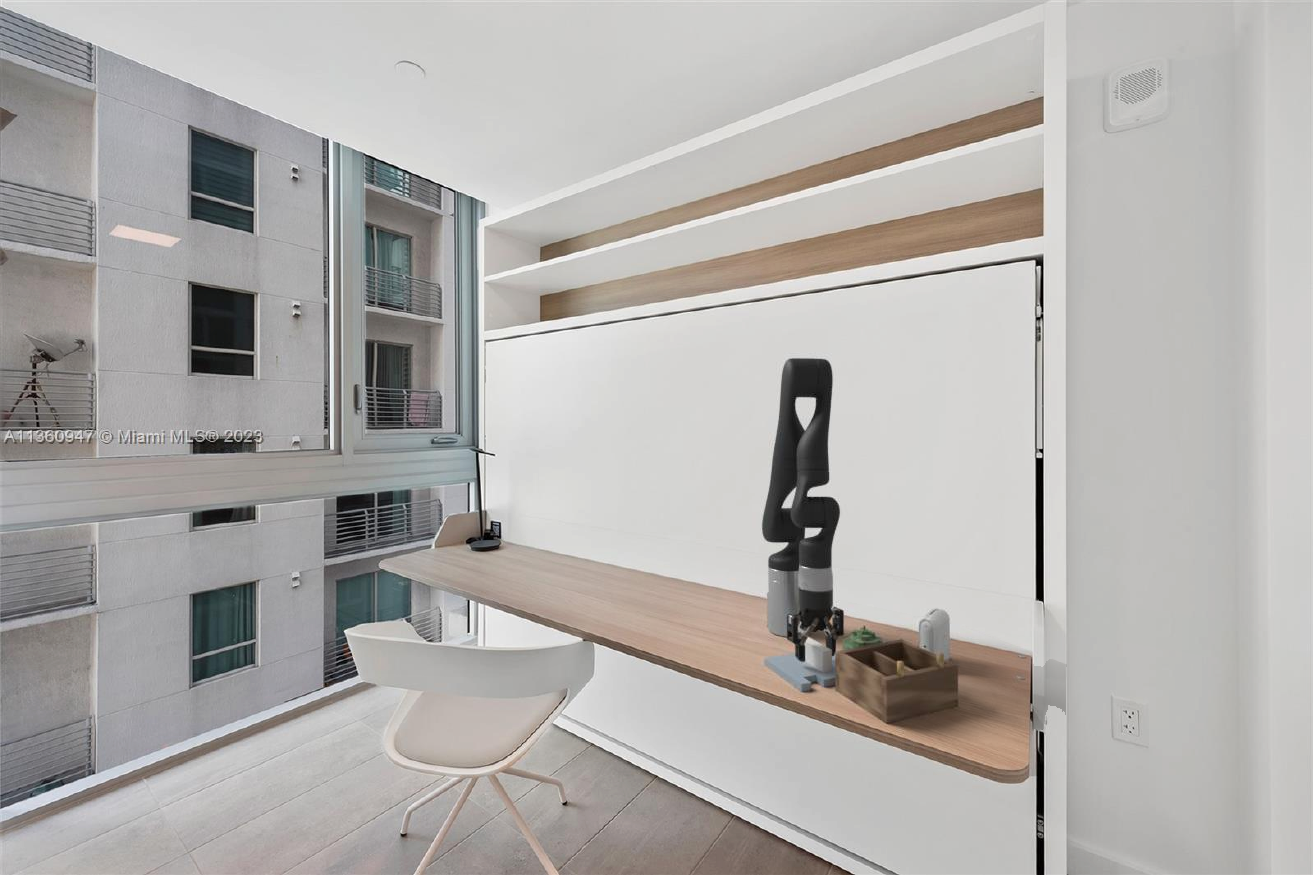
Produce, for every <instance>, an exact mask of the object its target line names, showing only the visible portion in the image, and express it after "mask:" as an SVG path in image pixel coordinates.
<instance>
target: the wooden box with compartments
mask: <svg viewBox="0 0 1313 875" xmlns="http://www.w3.org/2000/svg"><path fill="white" fill-rule="evenodd" d="M834 689H835V691H836V692H838V693H839V694H841V695H842V696H844V697H845V698H846V699H848V700H850V701H851V702H853V703H855V704H856V705H857V706H859V707H861V708H862V709H863V710H865V712H866V711H867V712H868V713H870V714H871V715H872V716H874V717H875V718H877V719H879V720H880V721H882V722H883V723H885V724H886V725H887V724H891V723H895V722H899V721H903V720H907V719H911V718H915V717H919V716H923V715H926V714H930V713H933V712H934V713H935V712H938V711H941V710H947V709H950V708H953V707H956V706H959V664H957V663H955V662H953V661H951V660H950V659H949V660H946V659H944V654H942V653H937V655H935V654H933V653H931V652H929V651H926V650H924V649H922V648H920V647H919V645H918V646H917V645H915V644H913V643H911V642H909V641H906V640H905V639H902V638H901V639H896V640H890V641H885V642H884V641H883V643H879V644H874V645H868V646H863V647H858V648H852V649H847V650H843V649H842V650H836V652H835V688H834Z"/></svg>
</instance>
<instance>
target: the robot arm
mask: <svg viewBox="0 0 1313 875" xmlns="http://www.w3.org/2000/svg"><path fill="white" fill-rule="evenodd" d="M833 378H834V376H833V368H832V364H831V363H830V362H829V360H828V359H826V358H807V357H805V358H804V357H802V358H801V357H798V358H797V357H796V358H794V357H792V358H788V359H786V361H785V363H784V365H783V368H782V374H781V379H780V380H781V382H780V397H779V408H778V410H779V412H778V420H777V427H776V436H775V439H774V446H773V453H772V459H771V460H772V463H771V471H770V481H769V487H768V492H767V498H766V500H765V506H764V511H763V515H762V523H761V532H762V536H763V538H764V540H765V541H767V542H768V543H771V544H772V543H774V544H775V543H777V544H778V543H779V544H781V543H782V544H783V543H787V545H786V546H785V547H784V548H783V549H781V550H780V551H779V550H778V551H777V552H775V553H772V554H771V555H770V556H769V557H768V560H767V561H768V562H767V566H768V567H767V568H768V572H767V573H768V574H767V575H768V581H767V582H768V592H767V593H766V624H767V625H766V626H767V627H768V631H769V632H770V633H771V634H774V635H776V636H781V637H786V639H787V641H789V642H791V643H792V644H794V649H795V650H794V651H795V652H794V653H795V656H796V658H797V659H798V660H799V661H801V662H805V645H804V644H805V642H806V640H807V638H808V637H810V638H811V636H812V634H813V633H816V632H819V631H820V632H822V631H823V632H824V634H825V635H826V637H825V646H826V647H827V648H829V649H831V650H832V656H834V655H835V652H836V651H837V639H838V638H839V637H843V636H844V634H845V630H844V629H845V626H844V624H845V623H844V619H845V618H844V617H845V616H844V612H845V611H844V610H843V609H841V608H839V607H837V606H834V575H833V574H834V573H833V568H832V567H833V566H832V565H833V564H832V559H833V557H832V556H833V542H834V538H835V533H836V530H837V528H838V524H839V520H840V517H841V516H840V515H841V508H840V505H839V502H838V501H837V500H836V499H835V498H834V497H832V496H808V492H809V491H810V490H811V489H814V488H817V487H822V486H826V485H827V484H828V483H829V482H830V465H829V464H830V463H829V461H830V460H829V459H830V458H829V433H830V432H829V431H830V422H831V421H830V420H831V413H832V412H831V410H832V398H833V386H834V385H833V384H834V383H833V382H834V381H833V380H834V379H833ZM797 398H810V399H811V398H814V399H815V406H814V408H815V409H814V413H813V415H812V417H811V420H810V422H809V423H808V425H807V427H806V429H805V428H804V427H803V425H802V423H801V421H800V419H799V415H798V414H797V409H796V401H797ZM794 490H795V493H794V497H793V499H792V503H791V507H783V505H784V503H785V501H786V499H787V498H788V496H790V494H791V493H792V492H793V491H794ZM806 529H821V530H820V531H819V532H818V534H815V535H814V536H809V537H806ZM831 619H832V621H831ZM830 621H831V622H832V623H831V622H830ZM805 629H806V630H805Z"/></svg>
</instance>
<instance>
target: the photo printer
mask: <svg viewBox="0 0 1313 875" xmlns="http://www.w3.org/2000/svg"><path fill="white" fill-rule="evenodd" d="M950 623H951V622H950V616H949V614H948V612H947V611H946V610H945V609H940V608H938V607H935V608H932V609H929V610H927V611H926V612H924V614H923V615H922V616H921V618H920V620H919V623H918V647H920V648H922V649H924V650H926V651H929V652H931V653H933V654H935V655H937V653H942V654H944V659H946V660H949V661H950V657H951V656H950V655H951V652H950V651H951V649H950V648H951V643H950V641H951V639H950V638H951V631H950V628H951V627H950V626H951V625H950Z"/></svg>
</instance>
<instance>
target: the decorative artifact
mask: <svg viewBox="0 0 1313 875" xmlns="http://www.w3.org/2000/svg"><path fill="white" fill-rule="evenodd" d="M879 643H884V639H883V637H882V636H877V635H876V633H875V632H874V631H871V630H870V629H868V628H866V625H862V627H860V629H859V630H857V629H854V630H853V631H851V632H850V635H849V636H847V637H845V638H844V639H842V650H847V649H852V648H858V647H863V646H868V645H874V644H879Z"/></svg>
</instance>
